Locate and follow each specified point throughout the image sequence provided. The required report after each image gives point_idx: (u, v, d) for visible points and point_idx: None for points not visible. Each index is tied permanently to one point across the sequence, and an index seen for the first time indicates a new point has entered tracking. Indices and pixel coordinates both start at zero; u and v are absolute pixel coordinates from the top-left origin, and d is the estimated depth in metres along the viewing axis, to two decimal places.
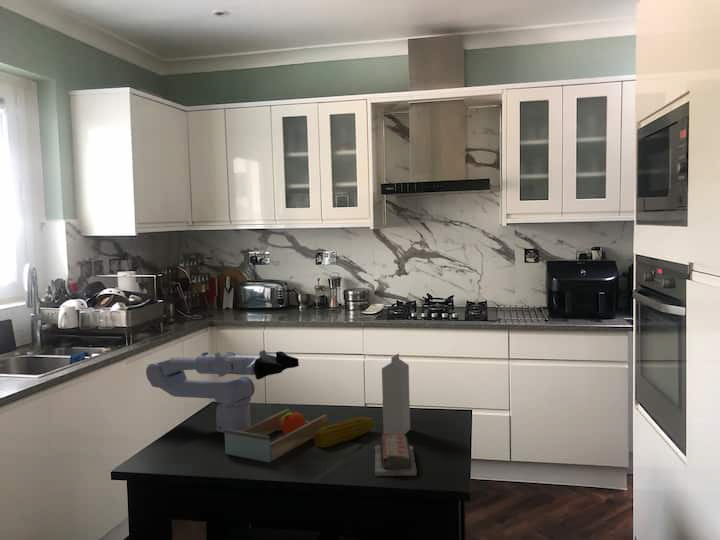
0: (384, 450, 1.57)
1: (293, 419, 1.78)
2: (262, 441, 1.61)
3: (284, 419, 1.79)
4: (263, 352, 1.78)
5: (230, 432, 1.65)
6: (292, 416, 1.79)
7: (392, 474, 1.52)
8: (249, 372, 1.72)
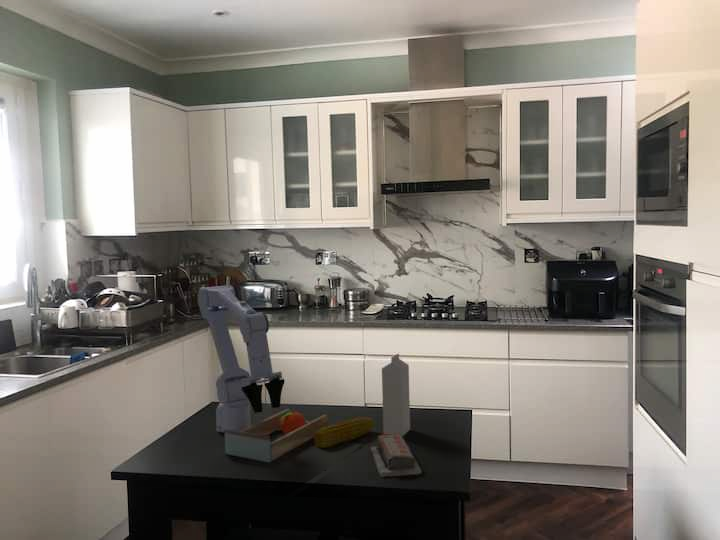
0: (386, 451, 1.57)
1: (293, 419, 1.78)
2: (262, 441, 1.61)
3: (284, 419, 1.79)
4: (272, 375, 1.68)
5: (230, 432, 1.65)
6: (292, 416, 1.79)
7: (397, 474, 1.52)
8: (243, 383, 1.63)
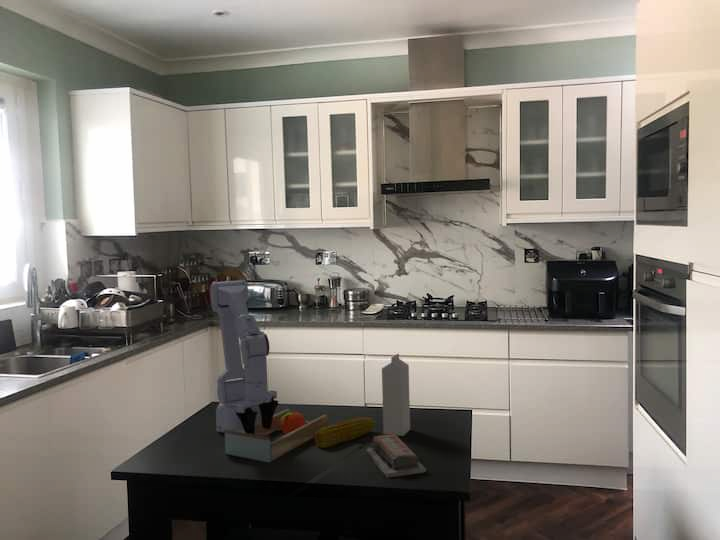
0: (388, 451, 1.57)
1: (293, 419, 1.78)
2: (262, 441, 1.61)
3: (284, 419, 1.79)
4: None
5: (230, 432, 1.65)
6: (292, 416, 1.79)
7: (403, 474, 1.52)
8: (237, 409, 1.61)
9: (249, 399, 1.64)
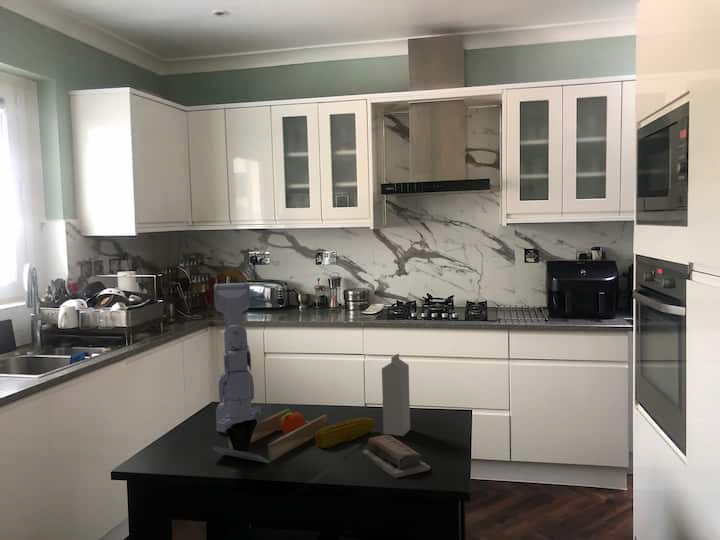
0: (391, 451, 1.56)
1: (293, 419, 1.78)
2: (253, 458, 1.57)
3: (284, 419, 1.79)
4: None
5: (219, 451, 1.62)
6: (292, 416, 1.79)
7: (410, 473, 1.52)
8: (219, 427, 1.55)
9: (231, 416, 1.59)
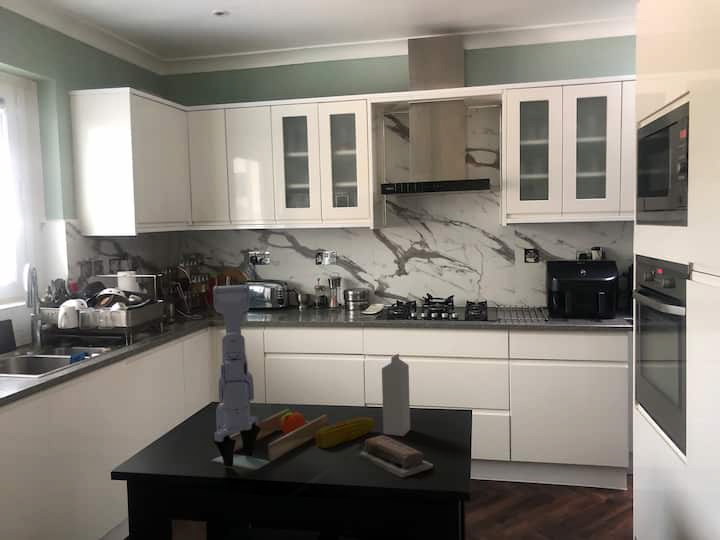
0: (394, 451, 1.56)
1: (293, 419, 1.78)
2: None
3: (284, 419, 1.79)
4: None
5: None
6: (292, 416, 1.79)
7: (415, 472, 1.53)
8: (216, 437, 1.54)
9: (228, 426, 1.58)
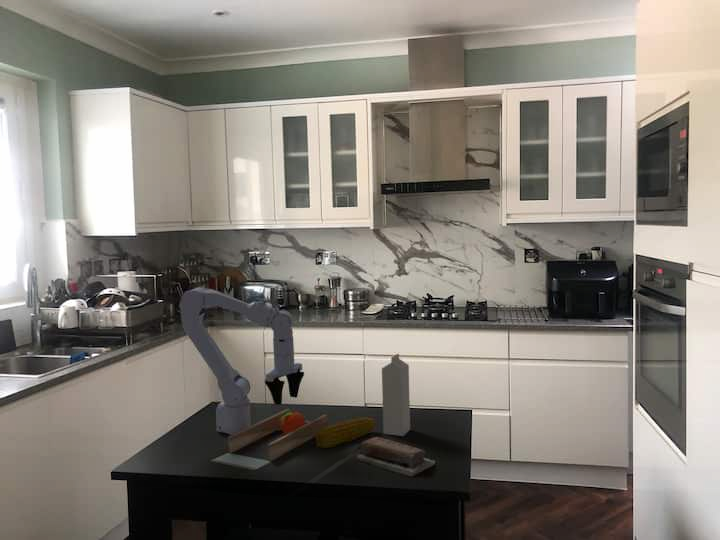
0: (398, 451, 1.56)
1: (293, 419, 1.78)
2: None
3: (284, 419, 1.79)
4: None
5: None
6: (292, 416, 1.79)
7: (421, 470, 1.54)
8: (267, 378, 1.77)
9: (277, 370, 1.81)
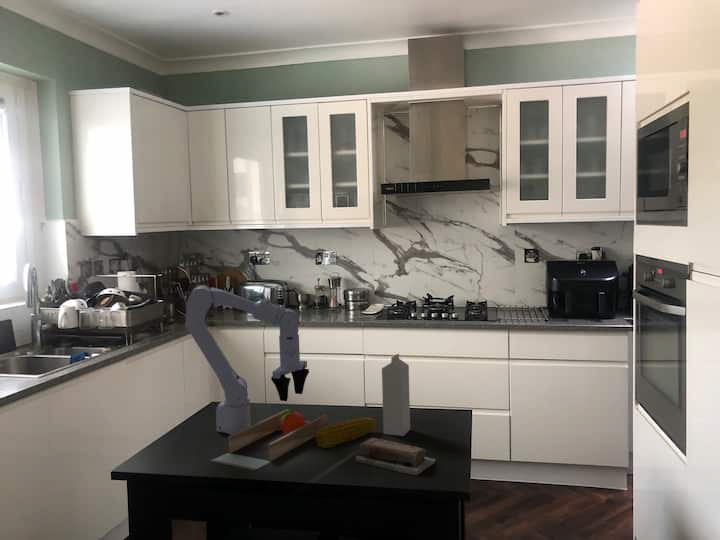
0: (400, 451, 1.56)
1: (293, 419, 1.78)
2: None
3: (284, 419, 1.79)
4: None
5: None
6: (292, 416, 1.79)
7: (424, 468, 1.55)
8: (274, 375, 1.81)
9: (283, 367, 1.84)
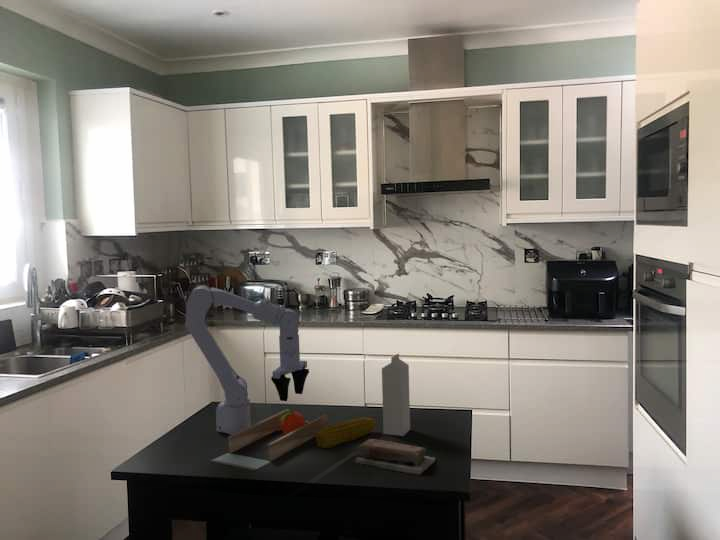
0: (402, 451, 1.57)
1: (293, 419, 1.78)
2: None
3: (284, 419, 1.79)
4: None
5: None
6: (292, 416, 1.79)
7: (426, 467, 1.56)
8: (274, 375, 1.81)
9: (283, 367, 1.84)
